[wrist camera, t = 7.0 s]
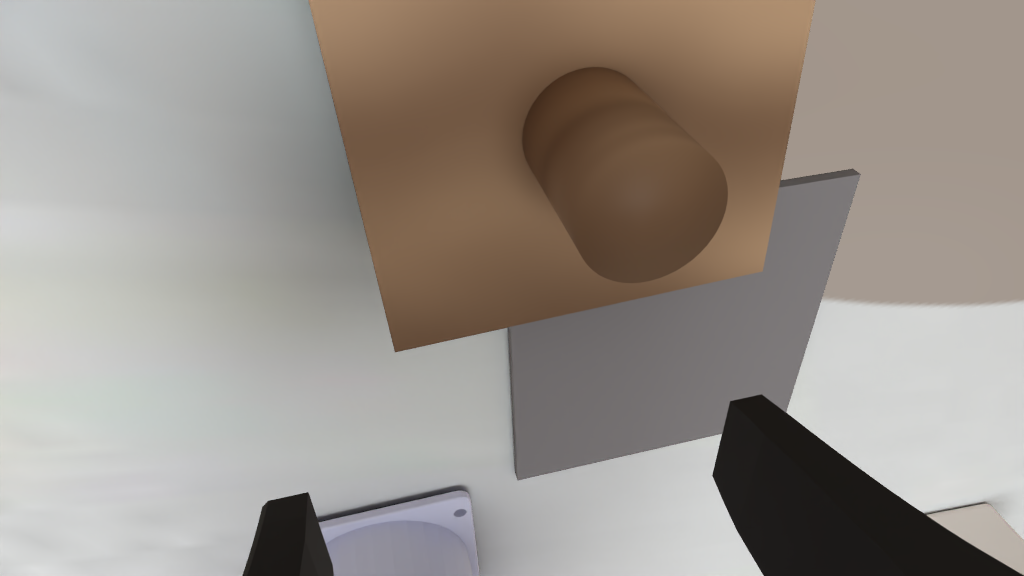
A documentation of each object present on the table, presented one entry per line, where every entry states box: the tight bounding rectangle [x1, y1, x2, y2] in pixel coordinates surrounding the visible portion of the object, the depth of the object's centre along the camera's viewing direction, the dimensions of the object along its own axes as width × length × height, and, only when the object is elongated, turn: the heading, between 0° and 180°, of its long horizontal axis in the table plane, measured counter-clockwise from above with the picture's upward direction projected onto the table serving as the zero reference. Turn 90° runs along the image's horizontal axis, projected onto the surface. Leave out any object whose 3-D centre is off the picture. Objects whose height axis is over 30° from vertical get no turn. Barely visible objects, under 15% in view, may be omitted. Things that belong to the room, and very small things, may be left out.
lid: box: [309, 0, 815, 352], centre depth 14 cm, size 10×10×4 cm
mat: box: [508, 169, 861, 480], centre depth 25 cm, size 12×12×1 cm
